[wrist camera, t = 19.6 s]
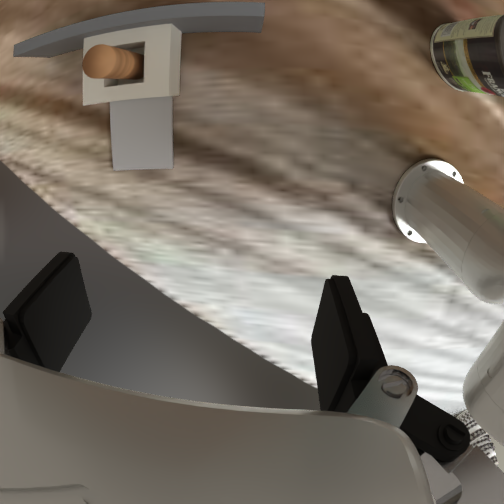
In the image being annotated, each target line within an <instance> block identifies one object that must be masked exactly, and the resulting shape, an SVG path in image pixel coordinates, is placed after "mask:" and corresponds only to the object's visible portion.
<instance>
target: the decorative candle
mask: <svg viewBox="0 0 504 504" xmlns="http://www.w3.org/2000/svg"><path fill="white" fill-rule="evenodd" d="M456 418H457V419H459V420H460V421H461V422H463V423H464V424H465V425H466V427H467V428H468V430H469V433H470V444H471V445H472V446H473V447H475V446H476V445H477V446H478V447H479V448H480V449H481V450H482V451H483V452H484V453H485V454H486V455H487V456H488V457H489V458H490V459H491V460H492V461H493V462H494V463H495V464H496V465H497V466H498V463H499V462H498V461H497V458H496V454H495V452H494V449H495V447H494V446H493V443H490V442H491V439H490V438H489V435H488V434H486V432H485V430H483V429H482V428H481V427H480V426H479V425H478V423H477V422H476V421H475V420H474V419H473V418H472V416H471V415H470V413H469V411H468V410H465V411H463V412H462V413H461V414H459V415H458V416H457V417H456ZM492 448H493V449H492Z"/></svg>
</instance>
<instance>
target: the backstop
mask: <svg viewBox="0 0 504 504" xmlns="http://www.w3.org/2000/svg"><path fill="white" fill-rule="evenodd" d="M264 13H265V3H256V2H206V3H189V4H177V5H167V6H159V7H151V8H144V9H138V10H132V11H126V12H121V13H116V14H111V15H107V16H102V17H98V18H94V19H90V20H86V21H82V22H79V23H75V24H72V25H68V26H65V27H62V28H59V29H56V30H53V31H50V32H47V33H44V34H41V35H38V36H36V37H33V38H30V39H28V40H25V41H23V42H20V43H18V44H16V45H14V54H13V57H47V58H50V57H53V56H56V55H60V54H64V53H67V52H71V51H75V50H79V49H83V47H84V38H87V37H91V36H96V35H100V34H105V33H110V32H115V31H120V30H126V29H132V28H138V27H145V26H153V25H161V24H171V23H172V24H173V25H174V26H175V27H176V28H177V29H179V30H180V31H181V32H182V33H196V32H260V33H261V30H262V25H263V21H264ZM110 125H111V144H112V158H113V170H114V171H116V170H140V169H173V168H174V163H173V96H165V97H151V98H140V99H129V100H120V101H112V102H110Z"/></svg>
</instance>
